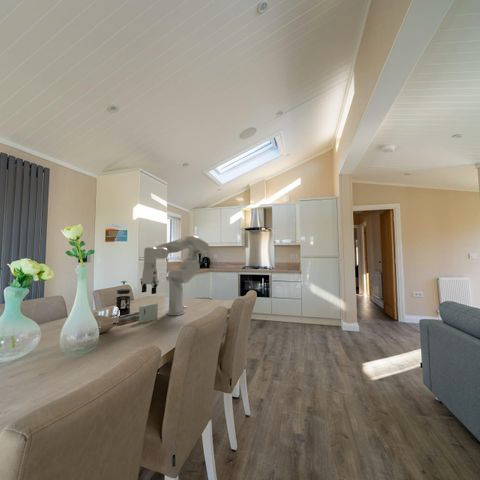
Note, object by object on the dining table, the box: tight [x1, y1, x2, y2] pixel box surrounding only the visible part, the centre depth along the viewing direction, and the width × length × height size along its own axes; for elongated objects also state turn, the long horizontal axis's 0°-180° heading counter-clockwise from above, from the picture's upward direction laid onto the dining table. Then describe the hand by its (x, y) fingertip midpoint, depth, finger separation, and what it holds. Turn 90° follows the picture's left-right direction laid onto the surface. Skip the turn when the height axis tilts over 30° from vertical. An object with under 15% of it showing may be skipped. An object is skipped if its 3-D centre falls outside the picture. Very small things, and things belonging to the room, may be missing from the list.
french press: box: [115, 280, 131, 316], centre depth 170 cm, size 12×9×23 cm
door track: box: [115, 311, 139, 326], centre depth 157 cm, size 20×11×3 cm, turn 148°
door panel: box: [138, 302, 159, 324], centre depth 156 cm, size 12×3×10 cm, turn 148°
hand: (148, 292), depth 157 cm, fingers open, 9 cm apart
